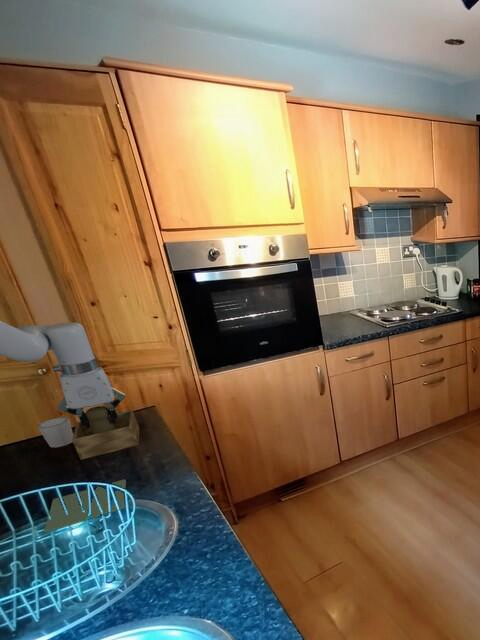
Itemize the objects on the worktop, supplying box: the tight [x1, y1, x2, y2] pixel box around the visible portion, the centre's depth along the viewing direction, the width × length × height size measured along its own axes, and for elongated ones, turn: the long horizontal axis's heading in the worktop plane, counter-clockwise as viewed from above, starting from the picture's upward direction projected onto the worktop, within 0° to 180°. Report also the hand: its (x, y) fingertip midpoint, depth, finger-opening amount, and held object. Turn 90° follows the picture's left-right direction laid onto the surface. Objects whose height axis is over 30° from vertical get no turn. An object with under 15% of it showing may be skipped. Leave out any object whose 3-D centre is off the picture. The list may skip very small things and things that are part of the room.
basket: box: [72, 409, 140, 460], centre depth 135 cm, size 13×13×6 cm
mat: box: [44, 478, 127, 534], centre depth 110 cm, size 14×14×1 cm
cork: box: [85, 405, 116, 435], centre depth 134 cm, size 6×6×11 cm
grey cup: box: [36, 416, 74, 448], centre depth 135 cm, size 7×7×7 cm
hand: (101, 423), depth 133 cm, fingers closed on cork, 5 cm apart
